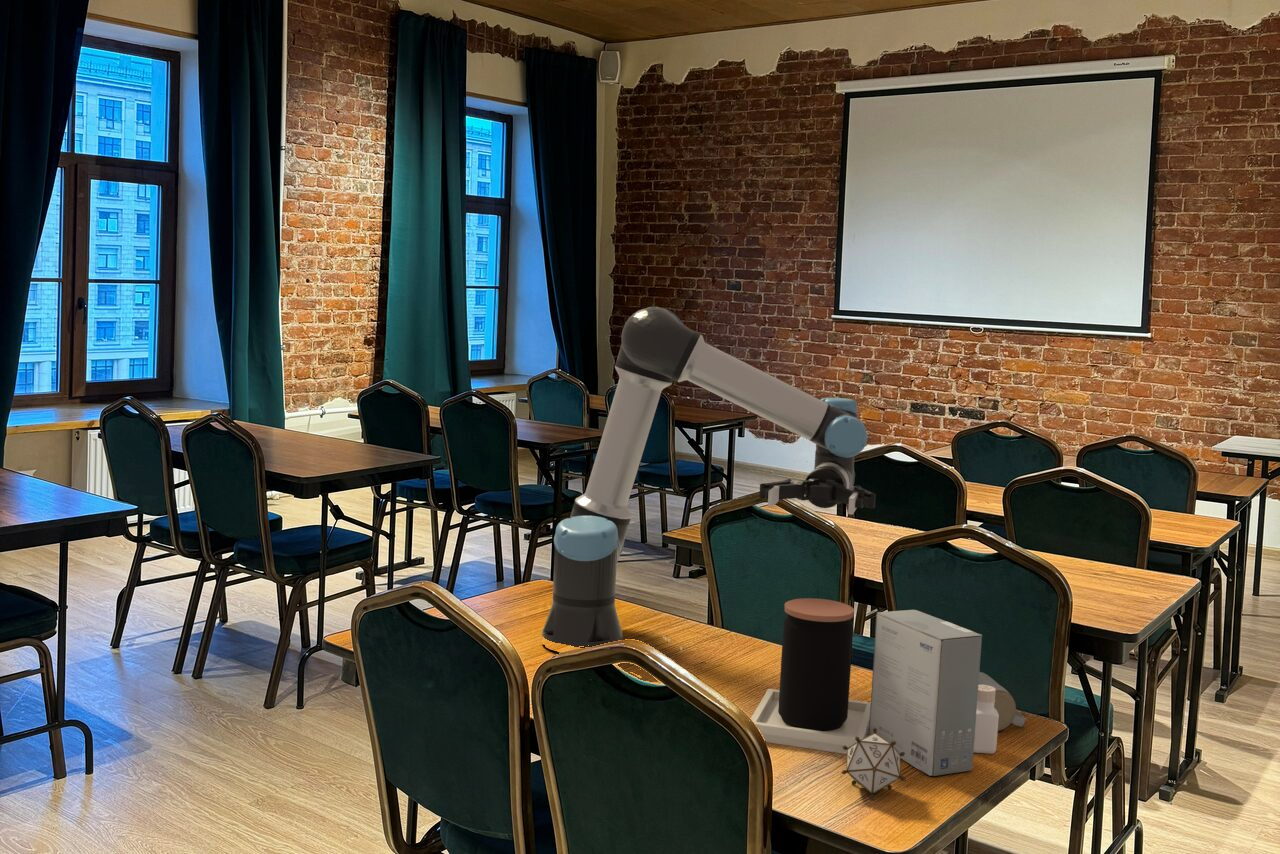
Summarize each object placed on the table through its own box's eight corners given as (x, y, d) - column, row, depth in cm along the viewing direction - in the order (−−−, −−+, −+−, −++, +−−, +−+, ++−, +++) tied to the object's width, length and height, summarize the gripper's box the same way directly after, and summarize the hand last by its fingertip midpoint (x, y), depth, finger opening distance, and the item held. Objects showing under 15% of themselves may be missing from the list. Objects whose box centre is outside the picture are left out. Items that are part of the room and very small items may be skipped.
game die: (884, 820, 157) (930, 776, 152) (834, 804, 154) (879, 759, 149) (868, 765, 164) (911, 722, 159) (819, 750, 161) (862, 705, 156)
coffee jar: (861, 725, 179) (869, 610, 177) (812, 738, 172) (820, 619, 170) (811, 704, 187) (818, 595, 185) (763, 716, 181) (769, 602, 179)
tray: (747, 739, 174) (748, 723, 174) (767, 703, 190) (768, 688, 190) (861, 756, 169) (863, 739, 169) (872, 718, 186) (873, 703, 185)
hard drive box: (974, 772, 165) (985, 635, 163) (931, 779, 162) (941, 639, 160) (906, 733, 180) (915, 607, 177) (865, 739, 176) (874, 610, 174)
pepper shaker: (969, 753, 172) (974, 691, 171) (963, 743, 176) (968, 682, 175) (996, 755, 172) (1001, 693, 171) (990, 745, 176) (995, 684, 175)
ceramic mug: (975, 735, 180) (980, 687, 179) (949, 717, 188) (953, 670, 187) (1035, 733, 183) (1040, 686, 182) (1007, 715, 190) (1011, 669, 190)
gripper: (893, 511, 213) (883, 531, 193) (759, 499, 220) (736, 517, 200) (896, 471, 213) (886, 487, 192) (761, 460, 220) (738, 474, 199)
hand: (810, 502), depth 196 cm, fingers open, 13 cm apart
